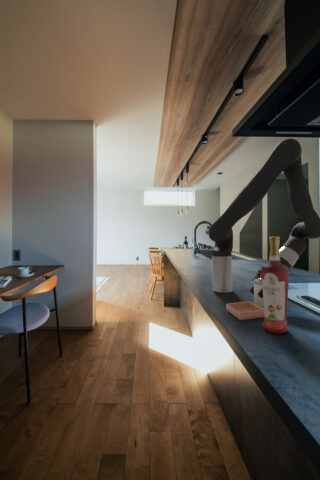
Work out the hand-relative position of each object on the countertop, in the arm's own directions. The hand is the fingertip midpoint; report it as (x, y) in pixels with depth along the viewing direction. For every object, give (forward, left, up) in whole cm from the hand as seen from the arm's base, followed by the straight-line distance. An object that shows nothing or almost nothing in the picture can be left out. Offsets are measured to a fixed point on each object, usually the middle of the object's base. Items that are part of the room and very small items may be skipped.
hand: (255, 294), depth 86 cm
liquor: (+18, -6, -5) cm, 20 cm away
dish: (+4, -7, -5) cm, 10 cm away
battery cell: (0, +2, -5) cm, 5 cm away
